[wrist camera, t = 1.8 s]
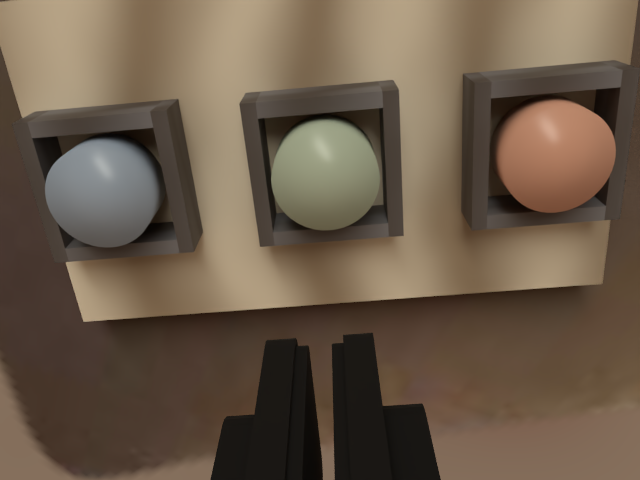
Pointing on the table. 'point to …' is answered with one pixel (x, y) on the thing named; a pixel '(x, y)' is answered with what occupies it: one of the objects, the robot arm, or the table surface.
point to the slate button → (105, 190)
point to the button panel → (305, 101)
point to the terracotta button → (552, 153)
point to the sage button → (325, 173)
